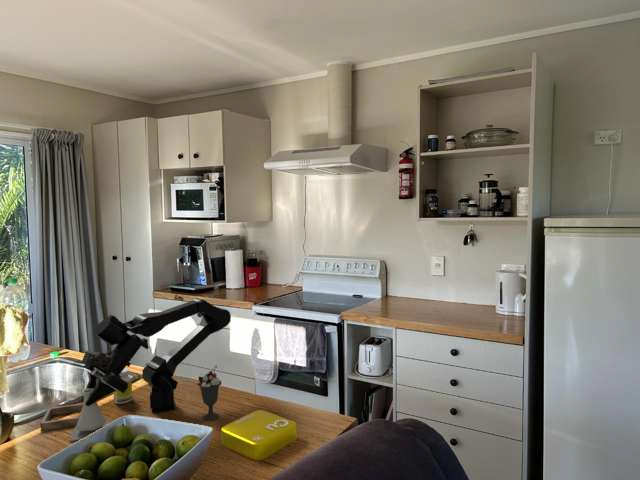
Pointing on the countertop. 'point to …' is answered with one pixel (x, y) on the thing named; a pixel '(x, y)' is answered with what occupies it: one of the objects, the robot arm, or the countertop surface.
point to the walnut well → (62, 422)
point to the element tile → (258, 434)
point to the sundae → (210, 393)
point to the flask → (90, 414)
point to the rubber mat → (83, 433)
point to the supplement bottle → (126, 396)
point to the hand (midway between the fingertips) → (84, 403)
